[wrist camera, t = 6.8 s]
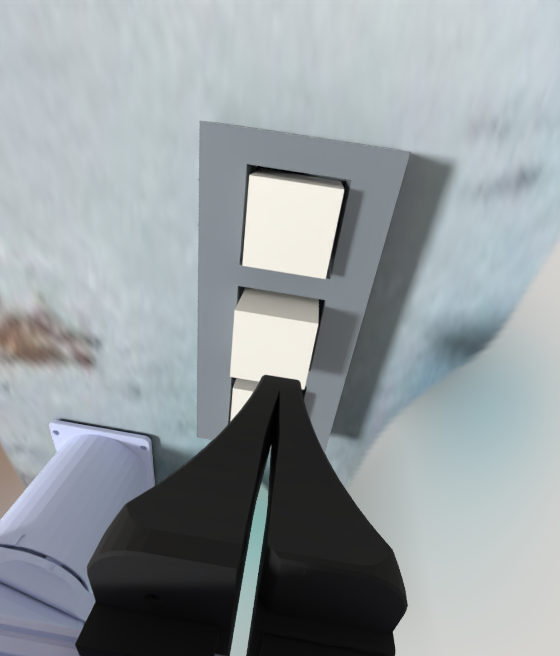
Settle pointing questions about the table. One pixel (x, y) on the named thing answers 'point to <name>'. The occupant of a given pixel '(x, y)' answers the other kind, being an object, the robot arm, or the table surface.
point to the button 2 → (291, 222)
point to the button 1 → (241, 394)
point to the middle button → (273, 335)
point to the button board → (232, 278)
